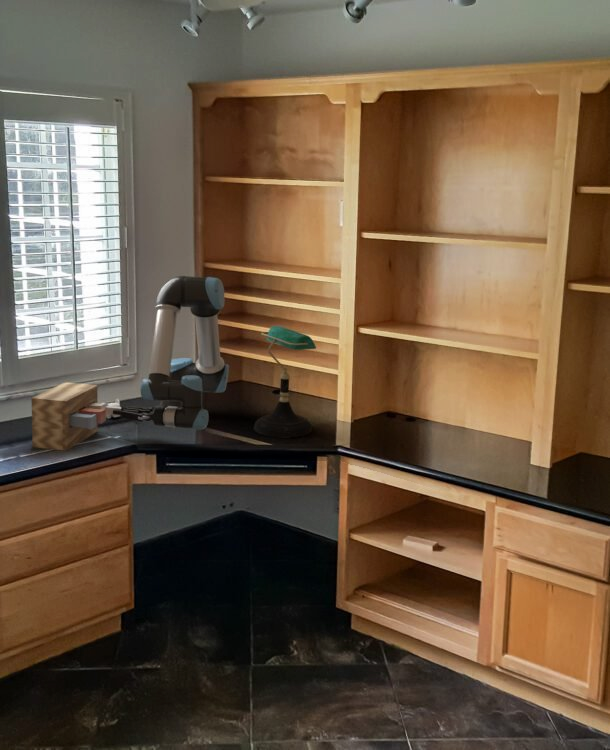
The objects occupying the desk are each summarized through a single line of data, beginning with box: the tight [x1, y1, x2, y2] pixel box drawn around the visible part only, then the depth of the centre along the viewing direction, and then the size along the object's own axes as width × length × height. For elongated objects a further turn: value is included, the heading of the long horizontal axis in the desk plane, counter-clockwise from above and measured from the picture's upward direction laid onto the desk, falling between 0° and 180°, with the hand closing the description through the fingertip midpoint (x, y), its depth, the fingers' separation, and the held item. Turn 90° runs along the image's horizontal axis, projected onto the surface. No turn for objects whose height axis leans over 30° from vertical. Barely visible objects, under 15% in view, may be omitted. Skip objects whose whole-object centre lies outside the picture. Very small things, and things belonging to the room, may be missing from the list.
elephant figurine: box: [101, 398, 121, 420], centre depth 353 cm, size 8×10×7 cm
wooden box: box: [31, 381, 99, 452], centre depth 321 cm, size 13×26×18 cm, turn 169°
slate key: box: [69, 413, 96, 429], centre depth 311 cm, size 12×4×4 cm, turn 79°
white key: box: [89, 402, 107, 410], centre depth 327 cm, size 12×4×4 cm, turn 79°
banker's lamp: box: [253, 325, 317, 439], centre depth 343 cm, size 26×23×40 cm
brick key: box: [79, 408, 107, 424], centre depth 319 cm, size 12×4×4 cm, turn 79°
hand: (106, 410), depth 326 cm, fingers closed
